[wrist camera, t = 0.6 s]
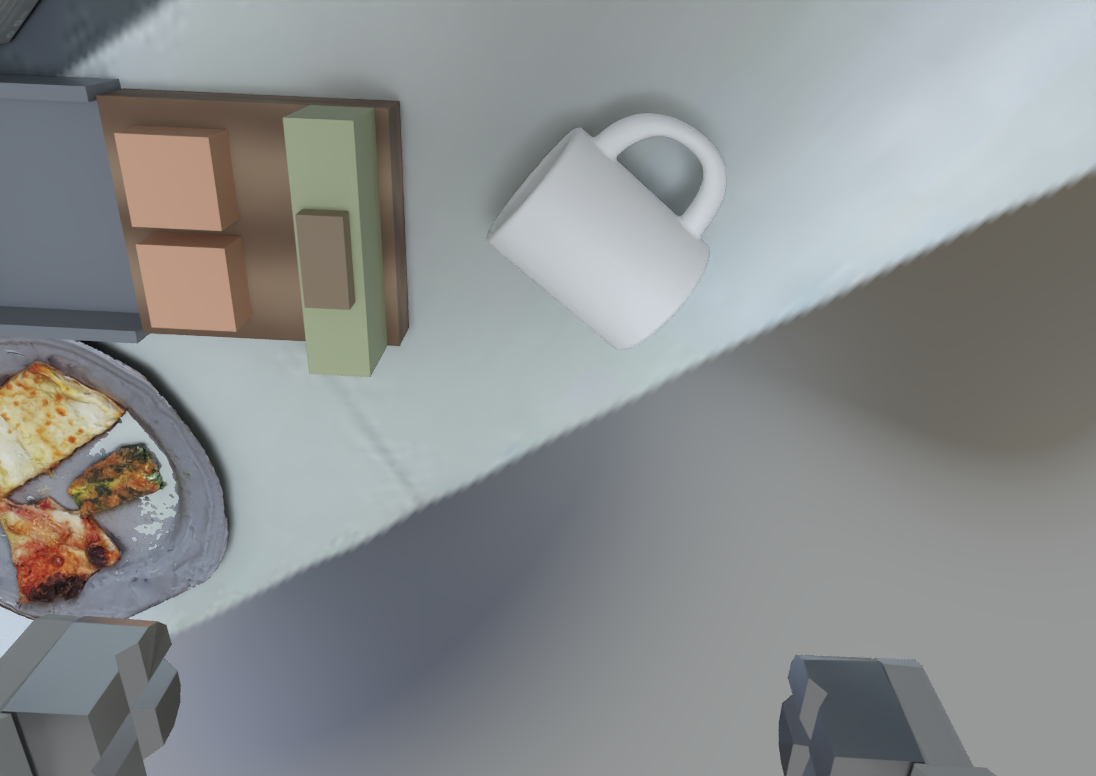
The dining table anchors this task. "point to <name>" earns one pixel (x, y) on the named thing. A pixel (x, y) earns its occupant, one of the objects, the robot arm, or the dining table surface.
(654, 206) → the mug
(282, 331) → the brown flat block
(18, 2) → the skincare box
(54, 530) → the food plate
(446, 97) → the dining table surface
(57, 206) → the tray
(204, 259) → the tile
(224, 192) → the tile
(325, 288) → the green bar
